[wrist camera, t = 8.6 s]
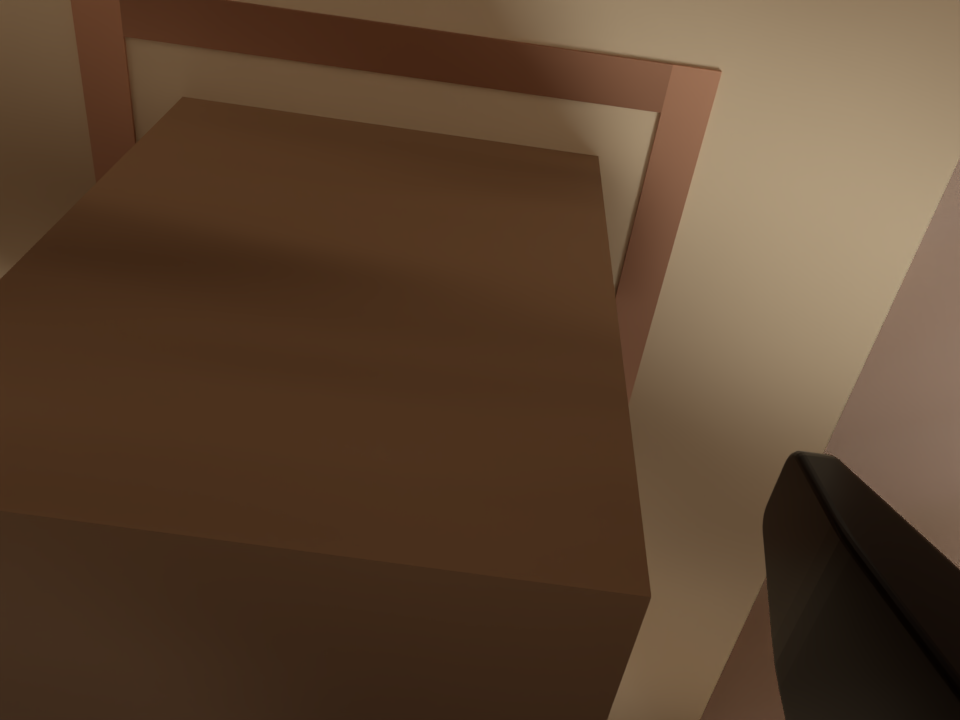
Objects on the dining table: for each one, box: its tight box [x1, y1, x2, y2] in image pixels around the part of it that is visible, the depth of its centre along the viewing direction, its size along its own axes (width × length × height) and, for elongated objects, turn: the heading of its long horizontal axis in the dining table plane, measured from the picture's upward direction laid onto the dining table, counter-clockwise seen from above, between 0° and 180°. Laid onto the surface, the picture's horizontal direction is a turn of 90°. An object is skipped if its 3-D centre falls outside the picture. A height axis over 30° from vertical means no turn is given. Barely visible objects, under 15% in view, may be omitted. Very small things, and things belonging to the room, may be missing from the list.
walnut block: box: [0, 97, 651, 720], centre depth 8 cm, size 4×4×6 cm
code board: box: [0, 0, 960, 720], centre depth 16 cm, size 27×12×1 cm, turn 173°
